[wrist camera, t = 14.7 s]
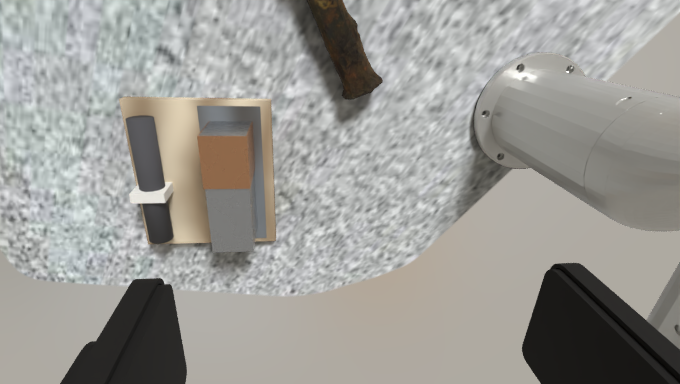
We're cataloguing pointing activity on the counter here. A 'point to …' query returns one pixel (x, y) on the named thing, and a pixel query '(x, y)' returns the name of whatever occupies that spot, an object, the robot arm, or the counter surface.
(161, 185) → the rod
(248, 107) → the board
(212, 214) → the grey and copper block
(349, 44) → the hand tool
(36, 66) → the counter surface
